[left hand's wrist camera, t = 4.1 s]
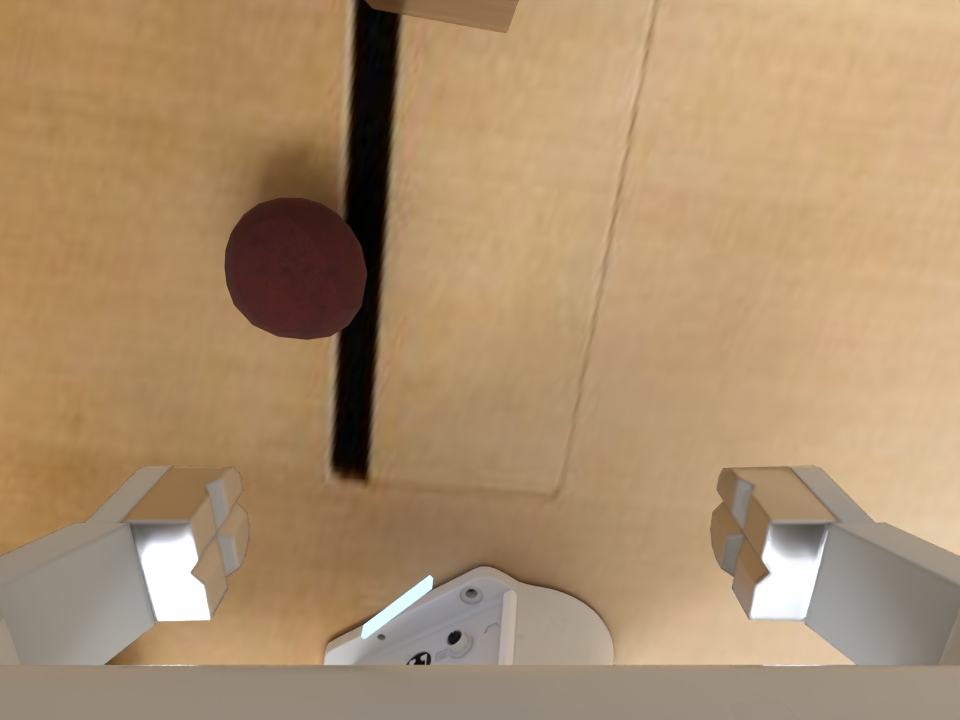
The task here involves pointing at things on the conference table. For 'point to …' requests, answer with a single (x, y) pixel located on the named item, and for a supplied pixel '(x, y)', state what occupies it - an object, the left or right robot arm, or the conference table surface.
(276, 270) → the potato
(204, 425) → the conference table surface
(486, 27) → the box
